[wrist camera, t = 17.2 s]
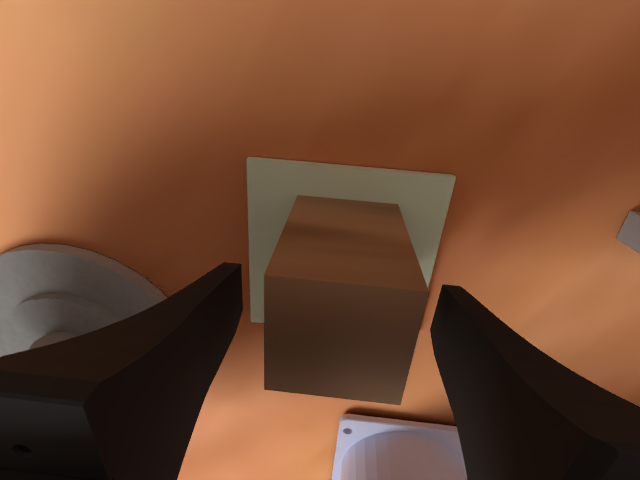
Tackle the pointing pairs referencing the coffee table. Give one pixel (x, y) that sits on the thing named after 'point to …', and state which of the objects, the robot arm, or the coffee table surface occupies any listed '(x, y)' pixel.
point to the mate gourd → (64, 294)
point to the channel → (631, 231)
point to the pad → (341, 183)
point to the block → (342, 301)
